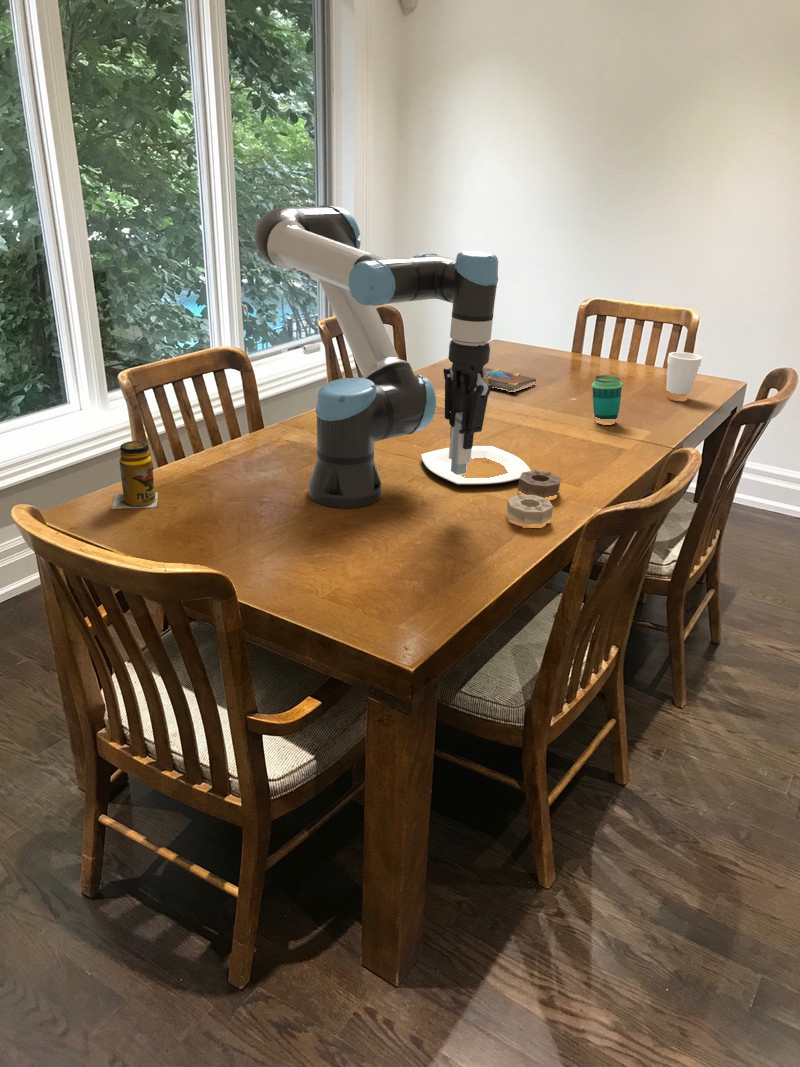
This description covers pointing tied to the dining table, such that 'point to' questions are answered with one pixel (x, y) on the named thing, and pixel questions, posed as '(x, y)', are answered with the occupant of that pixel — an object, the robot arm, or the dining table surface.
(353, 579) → the dining table surface
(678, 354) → the foam cup
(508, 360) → the dining table surface
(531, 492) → the walnut bead
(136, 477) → the condiment
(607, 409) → the cup
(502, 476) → the plate
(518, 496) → the maple bead
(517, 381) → the book
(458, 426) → the long pale blue brick
